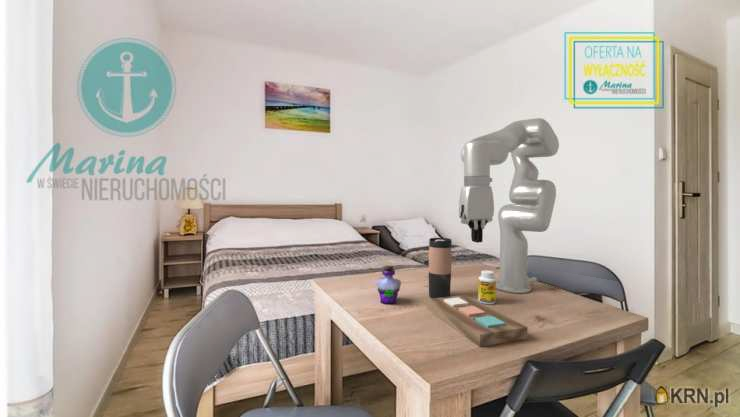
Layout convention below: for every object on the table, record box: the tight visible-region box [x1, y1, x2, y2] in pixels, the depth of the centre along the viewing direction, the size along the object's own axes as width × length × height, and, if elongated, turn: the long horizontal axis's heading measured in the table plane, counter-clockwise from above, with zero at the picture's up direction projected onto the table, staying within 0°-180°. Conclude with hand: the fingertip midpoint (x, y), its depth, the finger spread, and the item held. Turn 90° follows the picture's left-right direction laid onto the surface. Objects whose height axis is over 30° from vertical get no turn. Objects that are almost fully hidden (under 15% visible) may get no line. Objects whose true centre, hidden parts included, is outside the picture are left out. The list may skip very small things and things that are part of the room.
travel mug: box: [428, 237, 452, 299], centre depth 119 cm, size 8×8×20 cm
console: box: [425, 294, 529, 348], centre depth 96 cm, size 14×27×3 cm, turn 18°
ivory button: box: [444, 298, 468, 307], centre depth 104 cm, size 5×5×3 cm
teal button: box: [475, 316, 505, 328], centre depth 89 cm, size 5×5×3 cm
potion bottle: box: [375, 265, 402, 306], centre depth 113 cm, size 9×9×12 cm
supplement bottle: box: [477, 269, 497, 305], centre depth 113 cm, size 6×6×10 cm
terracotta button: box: [458, 306, 485, 317], centre depth 96 cm, size 5×5×3 cm
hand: (476, 241), depth 106 cm, fingers closed
